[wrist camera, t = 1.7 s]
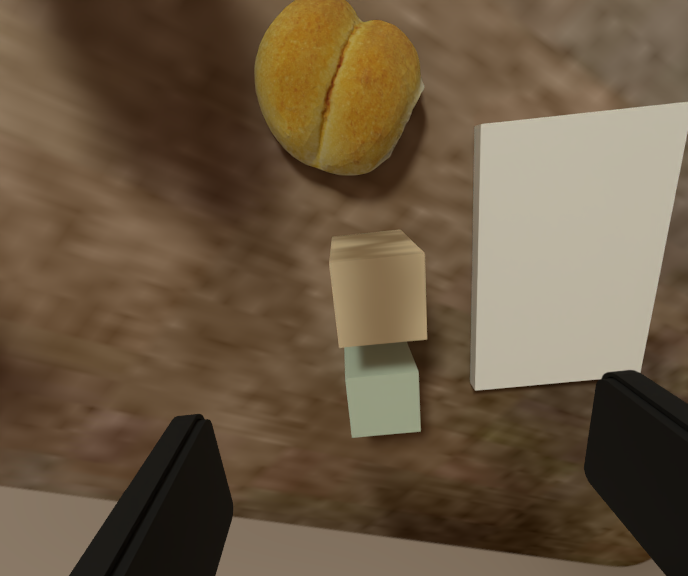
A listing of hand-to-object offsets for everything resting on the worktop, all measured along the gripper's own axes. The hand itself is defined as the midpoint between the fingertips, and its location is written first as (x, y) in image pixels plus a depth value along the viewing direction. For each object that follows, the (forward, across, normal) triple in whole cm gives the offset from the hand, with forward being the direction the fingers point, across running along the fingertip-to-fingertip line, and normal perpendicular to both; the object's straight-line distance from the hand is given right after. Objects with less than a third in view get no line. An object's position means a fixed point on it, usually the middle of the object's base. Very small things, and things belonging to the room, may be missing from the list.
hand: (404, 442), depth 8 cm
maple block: (+16, -1, 0) cm, 16 cm away
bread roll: (+16, 0, -11) cm, 20 cm away
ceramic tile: (+16, -14, +1) cm, 21 cm away
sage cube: (+16, -1, +8) cm, 18 cm away
